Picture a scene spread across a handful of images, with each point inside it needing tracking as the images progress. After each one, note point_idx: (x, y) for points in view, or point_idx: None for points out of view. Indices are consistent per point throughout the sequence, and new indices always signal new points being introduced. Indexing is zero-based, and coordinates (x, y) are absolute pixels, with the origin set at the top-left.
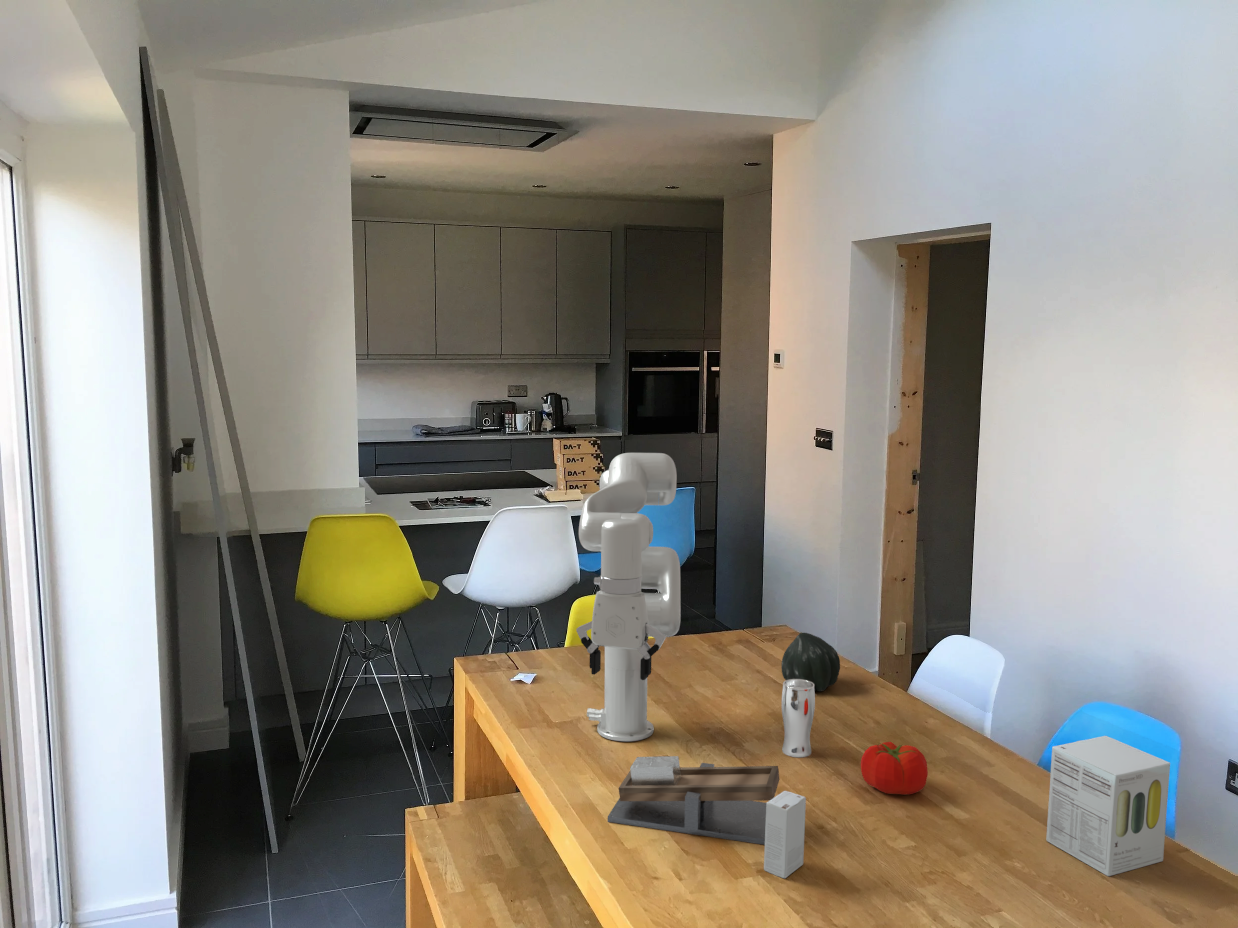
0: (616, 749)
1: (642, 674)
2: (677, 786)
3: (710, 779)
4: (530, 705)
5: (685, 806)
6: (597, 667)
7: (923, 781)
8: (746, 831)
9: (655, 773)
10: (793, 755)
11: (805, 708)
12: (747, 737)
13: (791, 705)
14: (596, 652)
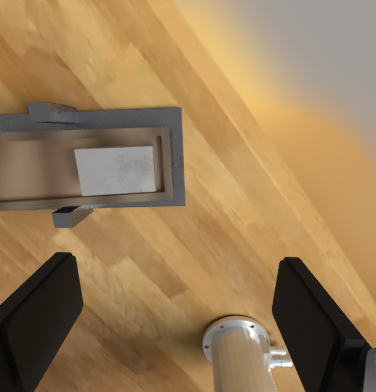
0: (231, 296)
1: (49, 264)
2: (73, 134)
3: (41, 179)
4: None
5: (57, 104)
6: (285, 297)
7: None
8: (5, 128)
9: (110, 147)
10: None
11: None
12: (101, 359)
13: None
14: (334, 373)
